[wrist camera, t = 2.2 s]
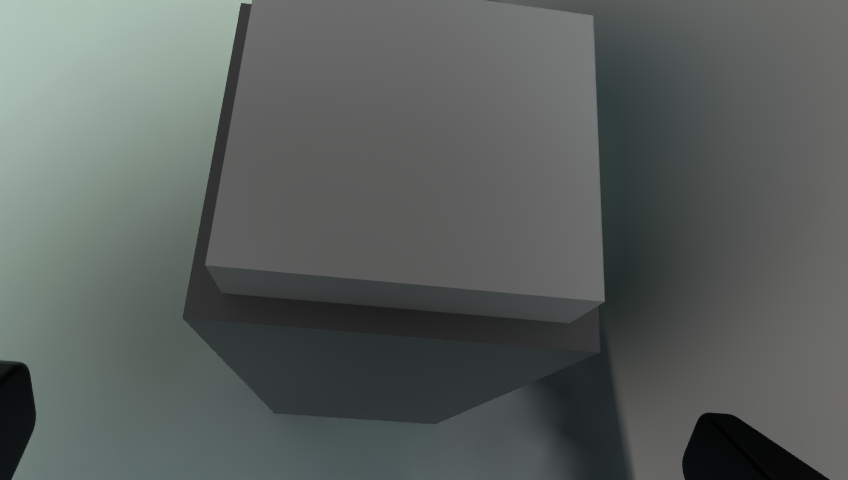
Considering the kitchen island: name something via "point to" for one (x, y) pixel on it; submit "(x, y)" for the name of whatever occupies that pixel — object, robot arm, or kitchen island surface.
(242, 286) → the iec plug
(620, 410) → the kitchen island surface
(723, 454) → the robot arm
